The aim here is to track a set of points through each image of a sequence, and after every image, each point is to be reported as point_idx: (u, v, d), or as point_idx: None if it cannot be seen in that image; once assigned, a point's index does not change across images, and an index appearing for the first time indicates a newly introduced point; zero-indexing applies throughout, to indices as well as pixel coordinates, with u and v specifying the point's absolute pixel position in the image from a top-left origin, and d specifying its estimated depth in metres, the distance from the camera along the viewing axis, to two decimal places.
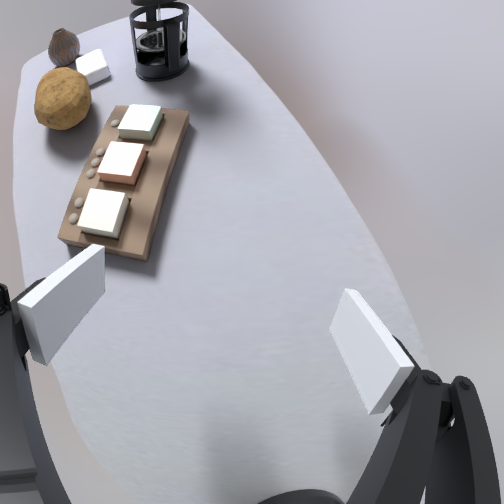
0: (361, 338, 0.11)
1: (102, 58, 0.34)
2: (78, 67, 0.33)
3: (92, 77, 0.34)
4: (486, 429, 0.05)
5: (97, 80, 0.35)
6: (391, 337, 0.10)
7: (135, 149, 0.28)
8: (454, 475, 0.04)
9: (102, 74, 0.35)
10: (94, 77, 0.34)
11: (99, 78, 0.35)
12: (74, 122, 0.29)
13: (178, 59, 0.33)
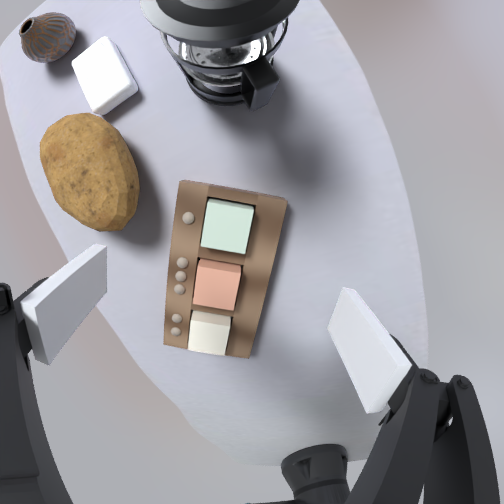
0: (359, 337, 0.12)
1: (117, 64, 0.22)
2: (81, 84, 0.22)
3: (112, 103, 0.24)
4: (484, 428, 0.05)
5: (121, 101, 0.25)
6: (389, 336, 0.10)
7: (232, 279, 0.28)
8: (452, 474, 0.04)
9: (126, 95, 0.24)
10: (115, 102, 0.24)
11: (124, 99, 0.25)
12: None
13: (266, 101, 0.22)
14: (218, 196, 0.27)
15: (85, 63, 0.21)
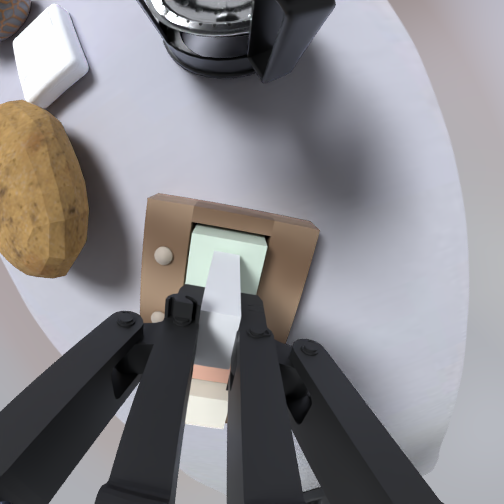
0: None
1: (60, 36, 0.11)
2: (18, 69, 0.12)
3: (52, 91, 0.14)
4: (359, 399, 0.07)
5: (65, 88, 0.15)
6: (237, 291, 0.12)
7: None
8: (341, 462, 0.05)
9: (71, 77, 0.14)
10: (56, 89, 0.14)
11: (69, 84, 0.15)
12: None
13: (292, 65, 0.12)
14: (209, 222, 0.17)
15: (26, 40, 0.11)
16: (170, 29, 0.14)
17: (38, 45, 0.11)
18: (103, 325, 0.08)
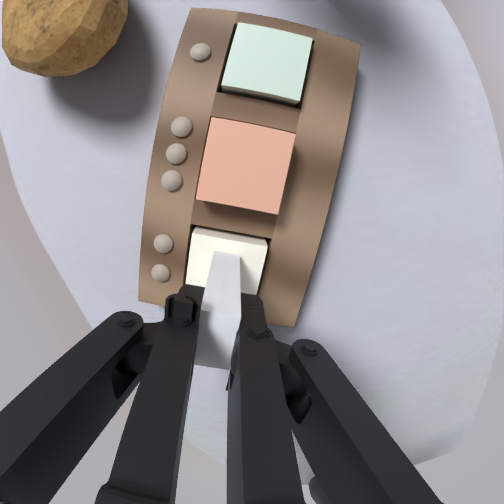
0: None
1: None
2: None
3: None
4: (359, 399, 0.07)
5: None
6: (237, 291, 0.12)
7: (278, 146, 0.13)
8: (341, 462, 0.05)
9: None
10: None
11: None
12: (99, 58, 0.11)
13: None
14: (253, 24, 0.12)
15: None
16: None
17: None
18: (103, 325, 0.08)
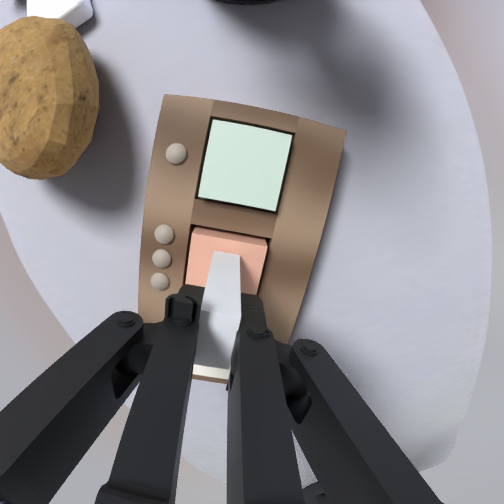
0: None
1: None
2: (28, 13, 0.09)
3: None
4: (359, 399, 0.07)
5: None
6: (237, 291, 0.12)
7: (251, 258, 0.16)
8: (341, 462, 0.05)
9: (75, 20, 0.12)
10: None
11: None
12: (77, 158, 0.13)
13: None
14: (230, 116, 0.14)
15: None
16: None
17: None
18: (103, 325, 0.08)
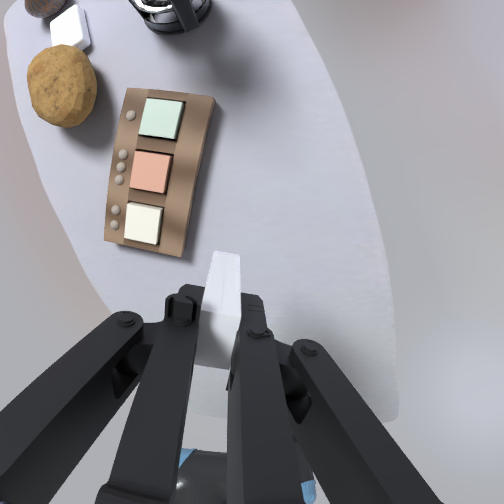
0: None
1: (77, 24, 0.22)
2: (52, 39, 0.22)
3: None
4: (359, 399, 0.07)
5: None
6: (237, 291, 0.12)
7: (162, 162, 0.30)
8: (341, 462, 0.05)
9: (80, 47, 0.24)
10: None
11: None
12: (85, 118, 0.26)
13: (195, 21, 0.22)
14: (155, 96, 0.27)
15: (58, 23, 0.21)
16: (147, 12, 0.24)
17: (65, 27, 0.21)
18: (103, 325, 0.08)
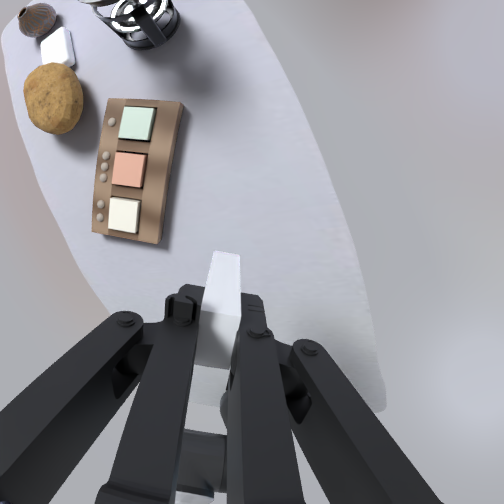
0: None
1: (63, 46, 0.26)
2: (42, 58, 0.26)
3: None
4: (359, 399, 0.07)
5: None
6: (237, 291, 0.12)
7: (138, 160, 0.33)
8: (341, 462, 0.05)
9: None
10: None
11: None
12: (73, 126, 0.30)
13: (162, 37, 0.26)
14: (132, 104, 0.31)
15: (47, 44, 0.25)
16: None
17: (53, 48, 0.26)
18: (103, 325, 0.08)
